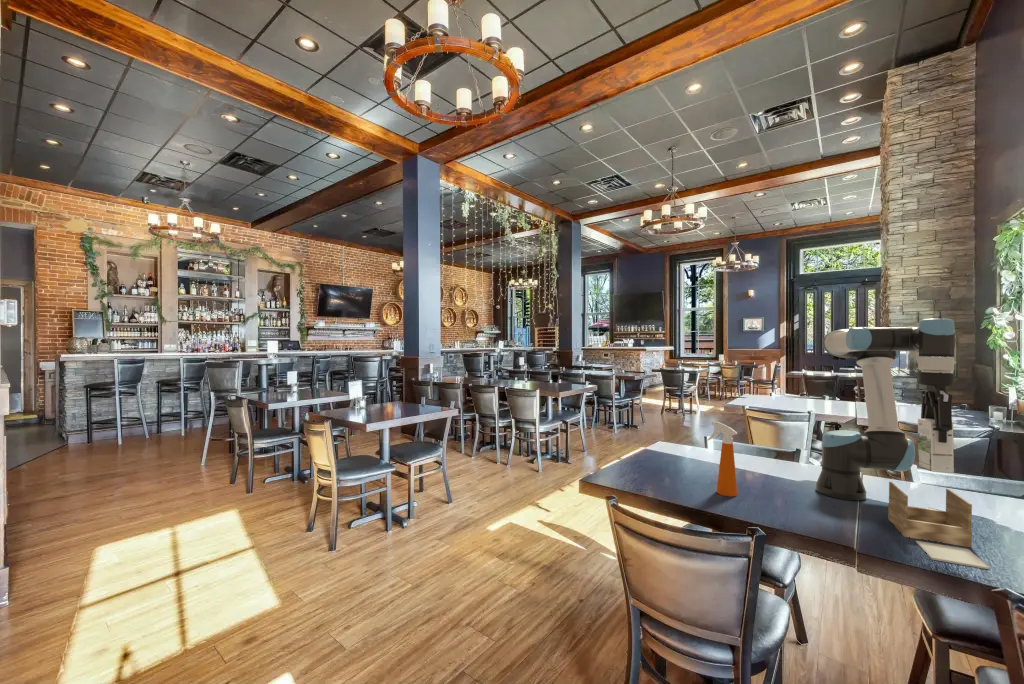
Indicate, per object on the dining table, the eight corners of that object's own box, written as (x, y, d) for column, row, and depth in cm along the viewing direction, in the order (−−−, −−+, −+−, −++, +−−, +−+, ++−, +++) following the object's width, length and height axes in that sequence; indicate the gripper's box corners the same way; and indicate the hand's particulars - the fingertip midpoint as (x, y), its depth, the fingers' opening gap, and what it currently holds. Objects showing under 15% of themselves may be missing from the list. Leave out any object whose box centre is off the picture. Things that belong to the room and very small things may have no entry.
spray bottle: (709, 486, 172) (710, 419, 172) (739, 493, 165) (740, 422, 165) (703, 491, 167) (704, 421, 166) (734, 498, 160) (735, 425, 160)
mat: (931, 559, 116) (931, 557, 116) (916, 542, 126) (916, 540, 126) (989, 569, 111) (989, 567, 111) (968, 550, 121) (968, 549, 121)
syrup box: (954, 473, 125) (955, 422, 125) (930, 471, 126) (930, 421, 126) (939, 468, 131) (940, 418, 131) (916, 466, 132) (916, 417, 132)
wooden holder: (904, 536, 130) (904, 495, 130) (888, 518, 143) (888, 481, 143) (971, 547, 123) (972, 504, 123) (948, 527, 136) (949, 488, 136)
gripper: (970, 373, 118) (969, 460, 118) (938, 370, 136) (938, 446, 136) (933, 372, 121) (932, 456, 121) (907, 369, 139) (906, 443, 139)
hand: (935, 450), depth 128 cm, fingers closed on syrup box, 7 cm apart
